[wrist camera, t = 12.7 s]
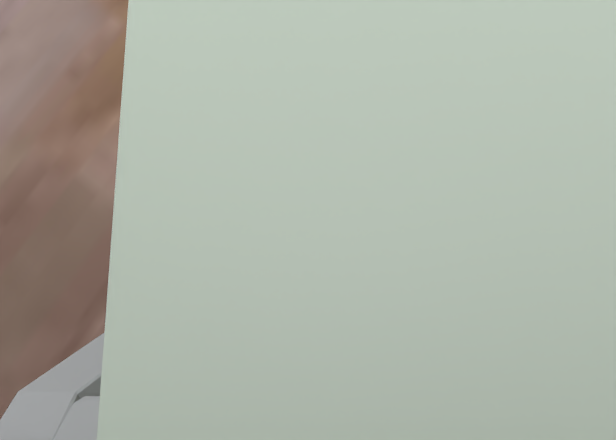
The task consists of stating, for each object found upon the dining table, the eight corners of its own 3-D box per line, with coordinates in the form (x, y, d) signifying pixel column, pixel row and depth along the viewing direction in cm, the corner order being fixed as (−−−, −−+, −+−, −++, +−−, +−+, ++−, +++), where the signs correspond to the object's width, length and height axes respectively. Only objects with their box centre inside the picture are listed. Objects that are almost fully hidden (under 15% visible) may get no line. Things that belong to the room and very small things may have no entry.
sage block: (311, 409, 16) (79, 675, 4) (313, 235, 17) (130, -16, 5) (493, 414, 16) (935, 751, 3) (485, 233, 17) (803, -60, 4)
